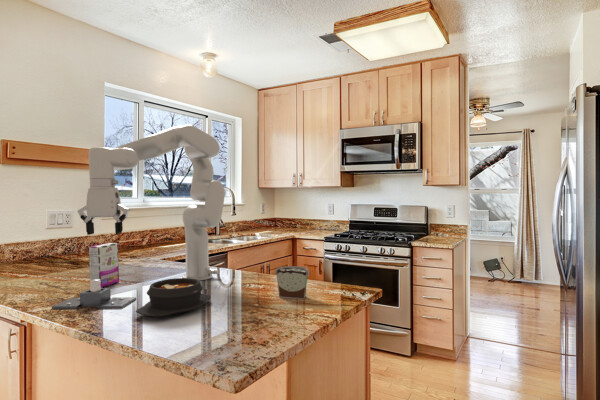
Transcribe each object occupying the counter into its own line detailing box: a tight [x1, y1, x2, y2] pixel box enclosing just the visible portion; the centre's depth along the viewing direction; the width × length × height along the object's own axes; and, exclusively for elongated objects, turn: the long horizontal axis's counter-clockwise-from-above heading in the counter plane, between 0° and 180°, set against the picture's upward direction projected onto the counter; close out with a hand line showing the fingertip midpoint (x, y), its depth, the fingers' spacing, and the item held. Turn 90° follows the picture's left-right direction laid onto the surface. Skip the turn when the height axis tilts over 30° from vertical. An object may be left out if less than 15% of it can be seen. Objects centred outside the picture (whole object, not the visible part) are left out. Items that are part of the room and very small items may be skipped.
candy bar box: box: [88, 242, 120, 288], centre depth 152 cm, size 11×5×16 cm, turn 168°
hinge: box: [51, 287, 137, 310], centre depth 126 cm, size 23×10×4 cm, turn 89°
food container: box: [274, 265, 310, 300], centre depth 134 cm, size 12×6×10 cm, turn 71°
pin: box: [89, 279, 101, 292], centre depth 126 cm, size 3×3×8 cm
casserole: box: [135, 277, 212, 318], centre depth 119 cm, size 25×19×8 cm
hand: (104, 234), depth 130 cm, fingers open, 9 cm apart
